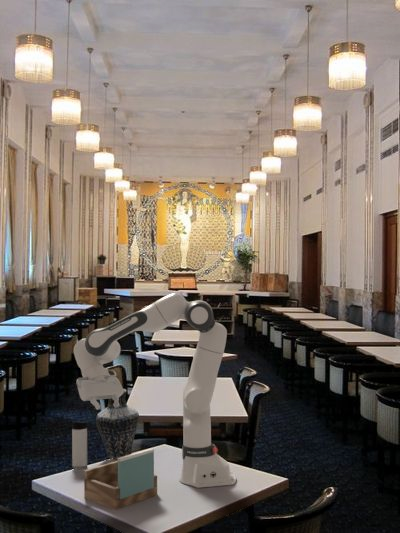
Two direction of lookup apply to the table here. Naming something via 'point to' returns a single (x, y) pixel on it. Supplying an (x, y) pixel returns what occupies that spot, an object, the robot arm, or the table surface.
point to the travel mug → (79, 444)
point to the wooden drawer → (110, 487)
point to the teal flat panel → (135, 473)
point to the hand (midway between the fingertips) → (108, 407)
